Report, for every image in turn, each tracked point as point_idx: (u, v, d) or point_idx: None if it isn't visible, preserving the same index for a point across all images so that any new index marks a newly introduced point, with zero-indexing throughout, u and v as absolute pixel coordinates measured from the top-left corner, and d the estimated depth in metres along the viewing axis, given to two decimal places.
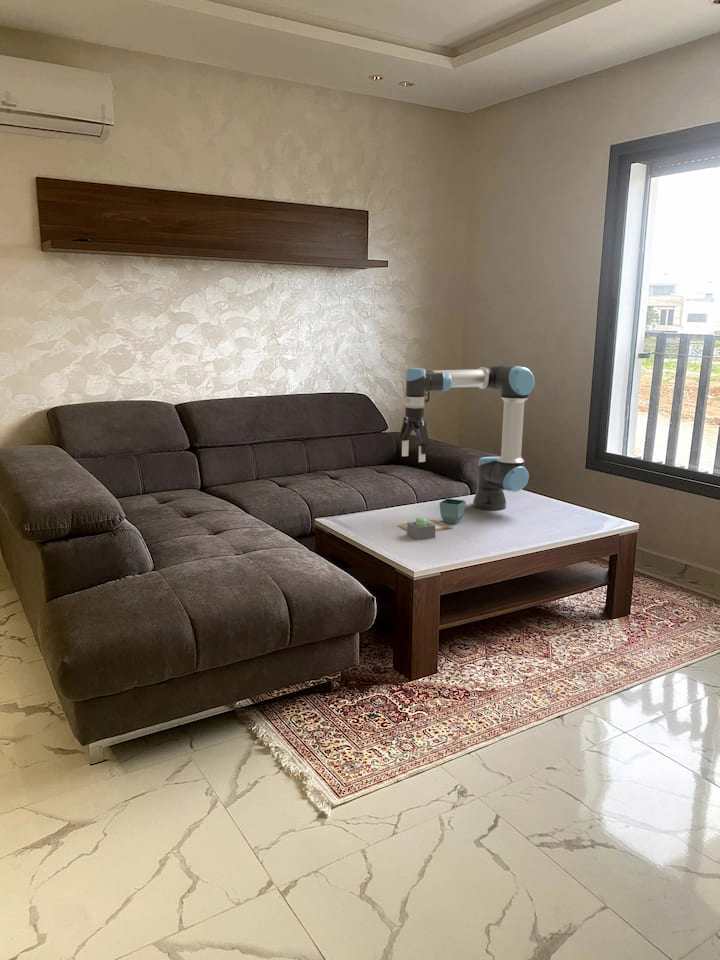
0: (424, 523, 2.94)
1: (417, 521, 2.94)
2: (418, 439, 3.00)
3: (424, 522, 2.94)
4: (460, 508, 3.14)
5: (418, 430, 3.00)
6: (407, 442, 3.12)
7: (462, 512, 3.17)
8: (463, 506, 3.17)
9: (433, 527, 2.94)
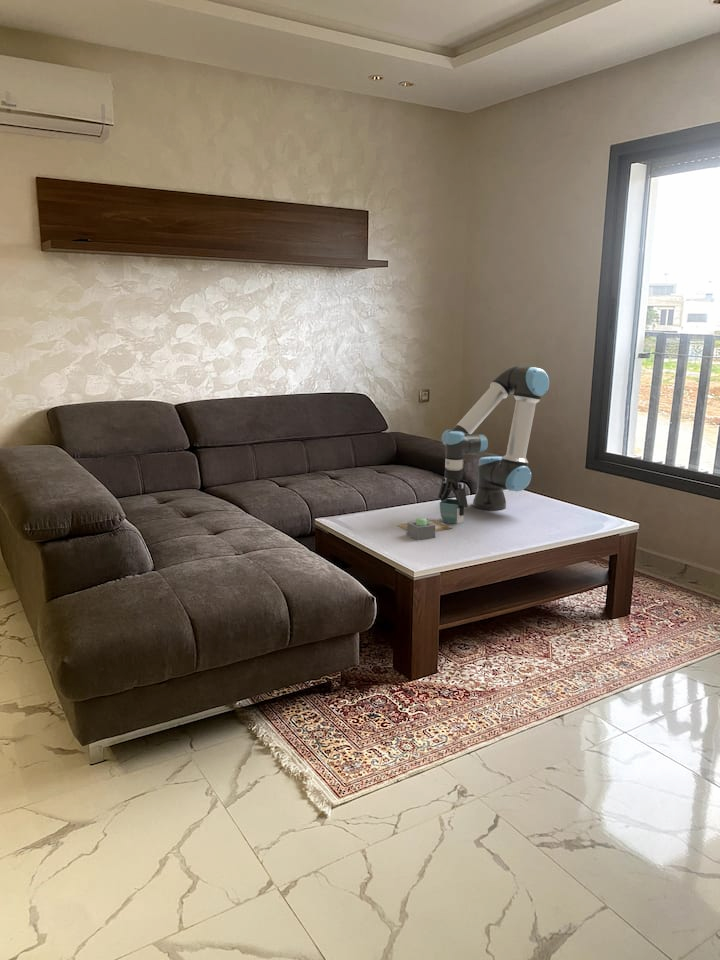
0: (424, 523, 2.94)
1: (417, 521, 2.94)
2: None
3: (424, 522, 2.94)
4: None
5: (457, 492, 3.12)
6: None
7: None
8: None
9: (433, 527, 2.94)
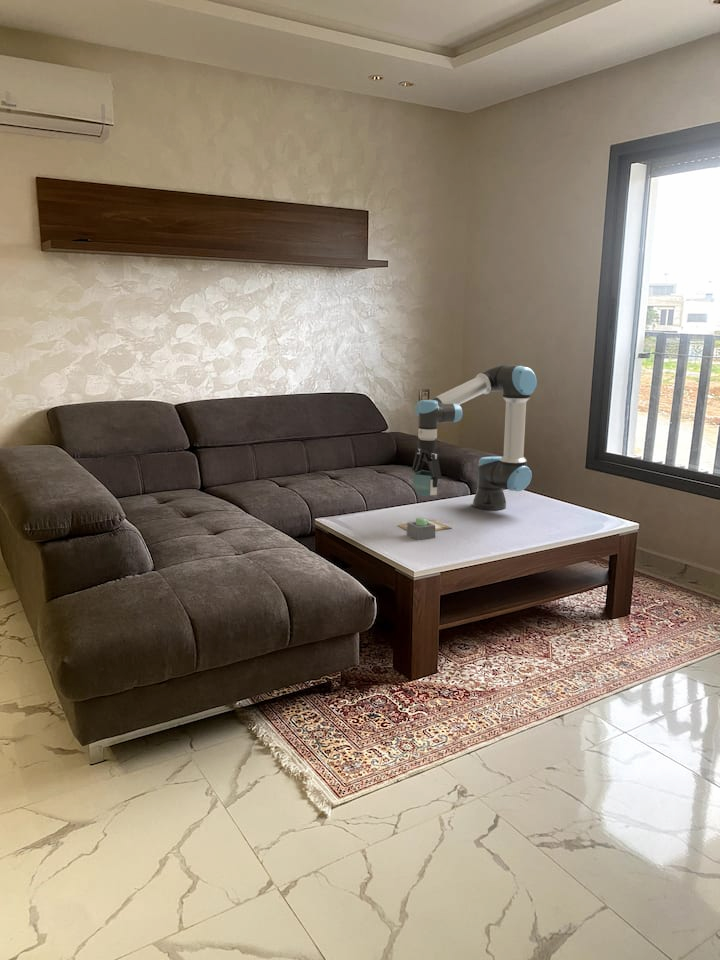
0: (424, 523, 2.94)
1: (417, 521, 2.94)
2: (430, 472, 3.00)
3: (424, 522, 2.94)
4: None
5: (430, 463, 3.00)
6: None
7: None
8: None
9: (433, 527, 2.94)
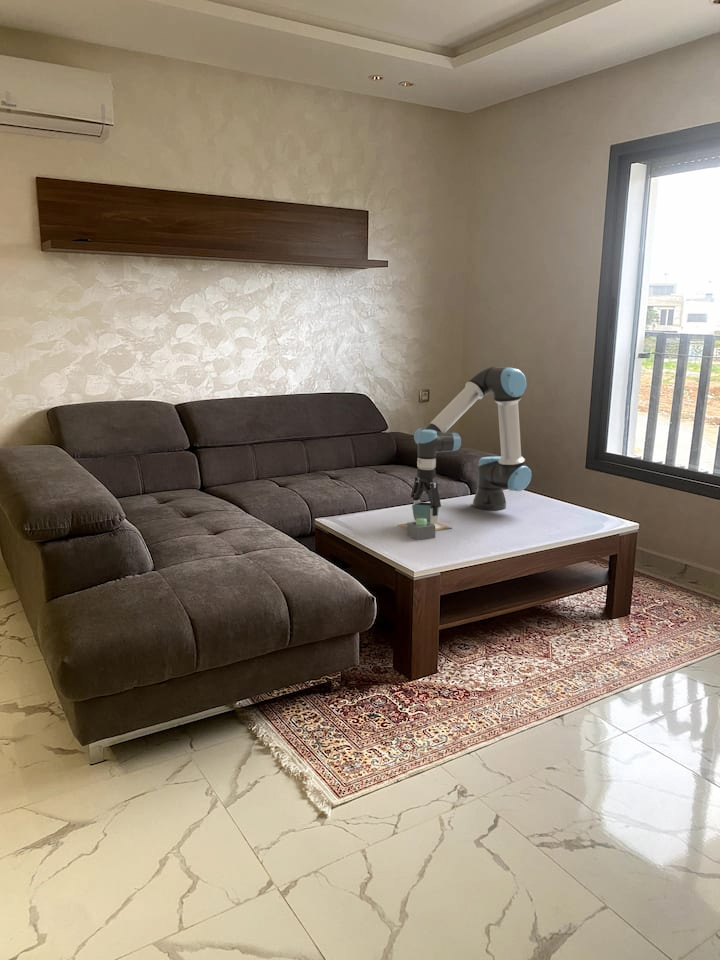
0: (424, 523, 2.94)
1: (417, 521, 2.94)
2: None
3: (424, 522, 2.94)
4: None
5: (430, 492, 3.03)
6: (419, 502, 3.14)
7: None
8: (437, 508, 3.07)
9: (433, 527, 2.94)
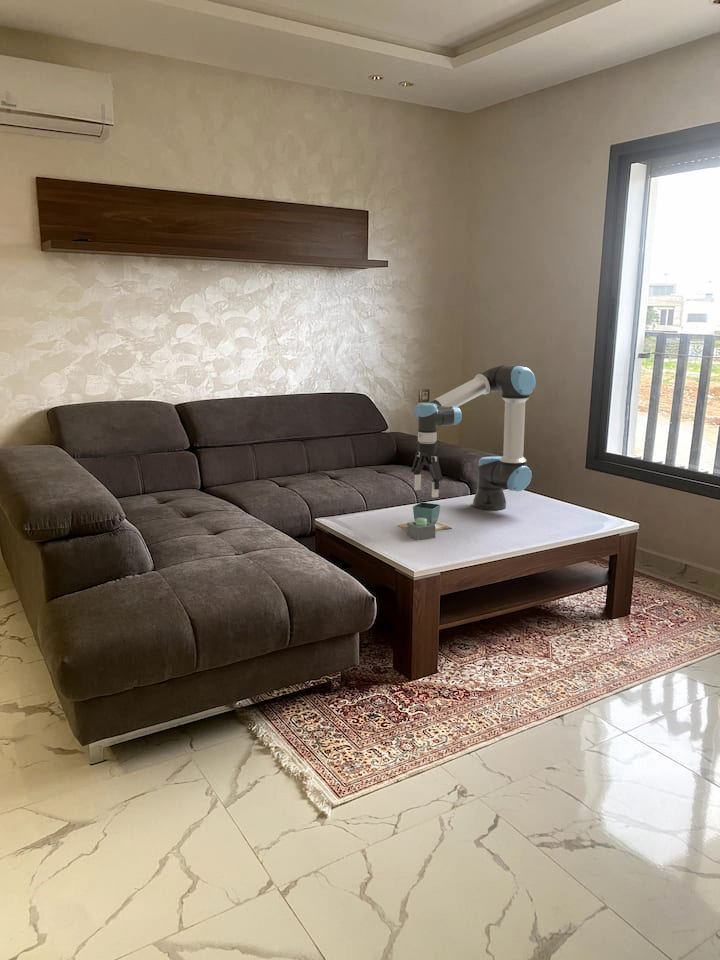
0: (424, 523, 2.94)
1: (417, 521, 2.94)
2: (431, 474, 2.99)
3: (424, 522, 2.94)
4: (434, 512, 3.03)
5: (431, 465, 3.00)
6: (419, 476, 3.12)
7: (436, 516, 3.07)
8: (437, 510, 3.06)
9: (433, 527, 2.94)
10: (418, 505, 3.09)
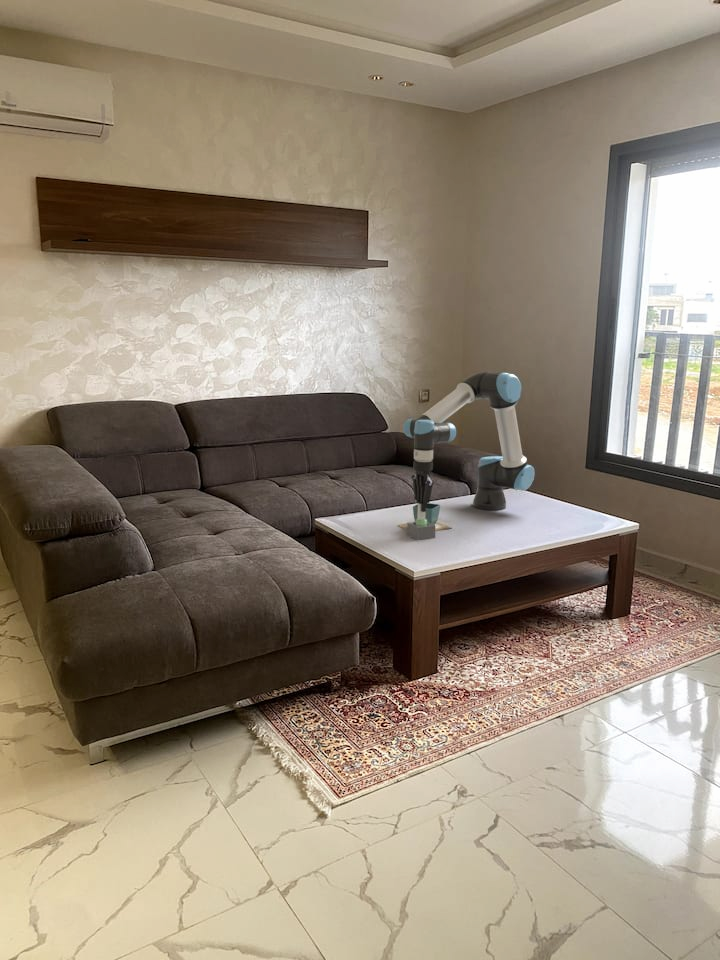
0: (424, 524, 2.94)
1: (417, 522, 2.94)
2: (420, 495, 2.92)
3: (424, 523, 2.94)
4: (434, 512, 3.03)
5: (423, 487, 2.91)
6: None
7: (436, 516, 3.07)
8: (437, 510, 3.06)
9: (433, 527, 2.94)
10: None
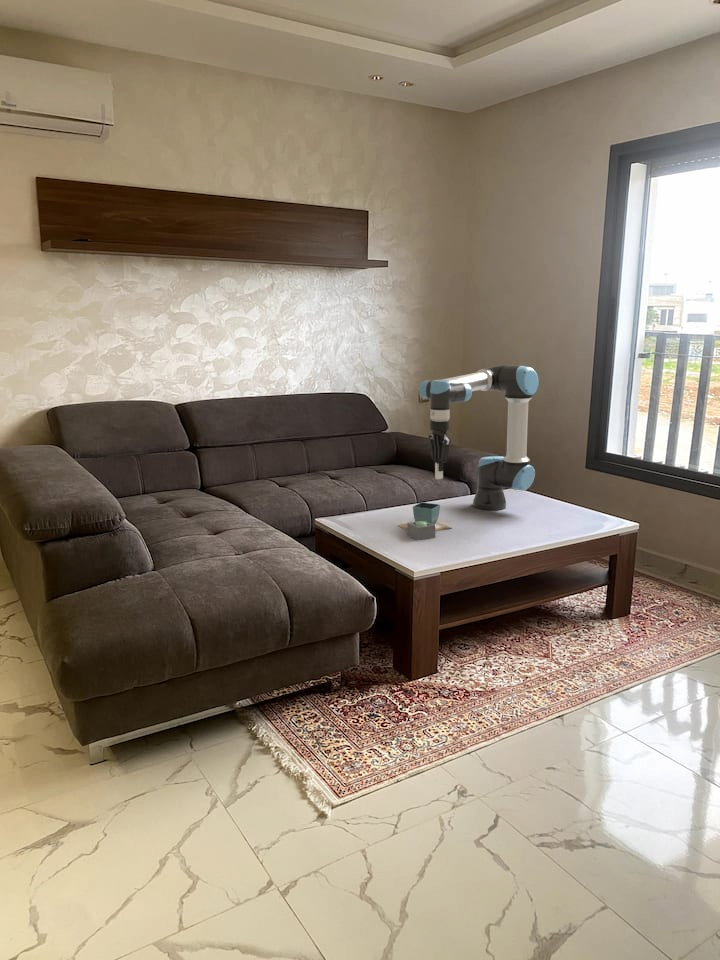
0: None
1: (417, 524, 2.95)
2: (437, 455, 2.96)
3: (424, 525, 2.94)
4: (434, 512, 3.03)
5: (441, 446, 2.94)
6: None
7: (436, 516, 3.07)
8: (437, 510, 3.06)
9: (433, 527, 2.94)
10: (418, 505, 3.09)
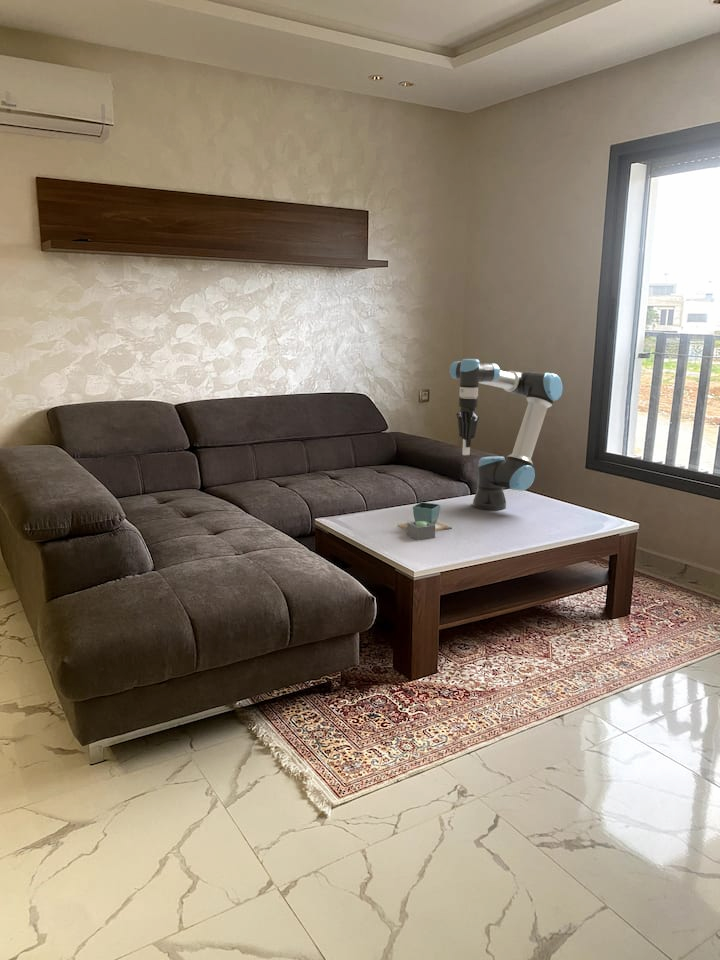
0: None
1: (417, 524, 2.95)
2: (465, 431, 3.07)
3: (424, 525, 2.94)
4: (434, 512, 3.03)
5: (469, 423, 3.05)
6: None
7: (436, 516, 3.07)
8: (437, 510, 3.06)
9: (433, 527, 2.94)
10: (418, 505, 3.09)
